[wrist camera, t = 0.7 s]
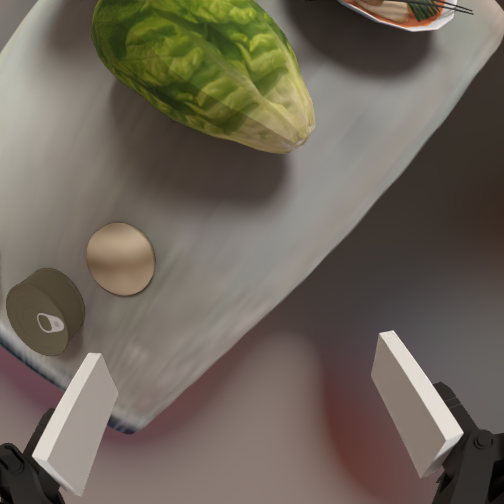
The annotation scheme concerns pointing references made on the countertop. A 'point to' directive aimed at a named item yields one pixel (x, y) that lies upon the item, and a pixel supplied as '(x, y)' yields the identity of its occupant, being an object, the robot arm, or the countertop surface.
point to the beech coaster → (121, 258)
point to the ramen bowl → (406, 12)
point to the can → (45, 311)
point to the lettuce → (209, 67)
